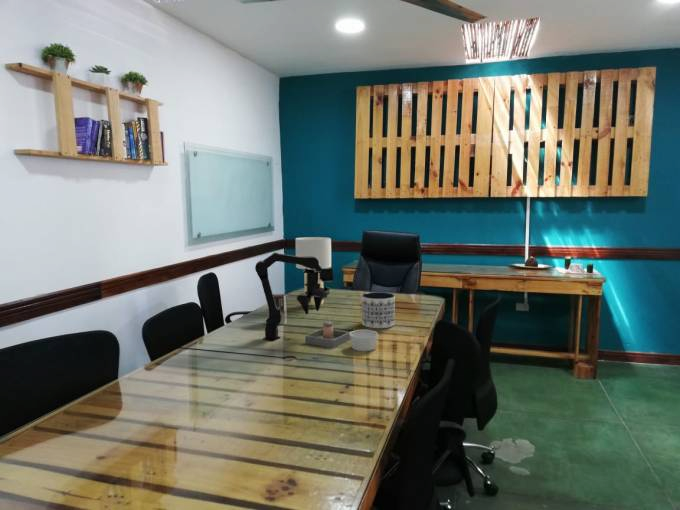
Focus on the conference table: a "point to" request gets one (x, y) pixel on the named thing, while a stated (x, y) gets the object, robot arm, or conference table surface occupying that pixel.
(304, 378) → the conference table surface
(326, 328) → the shaker
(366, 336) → the ramekin
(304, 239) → the lamp
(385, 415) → the conference table surface
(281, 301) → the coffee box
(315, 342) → the tray
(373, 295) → the planter
